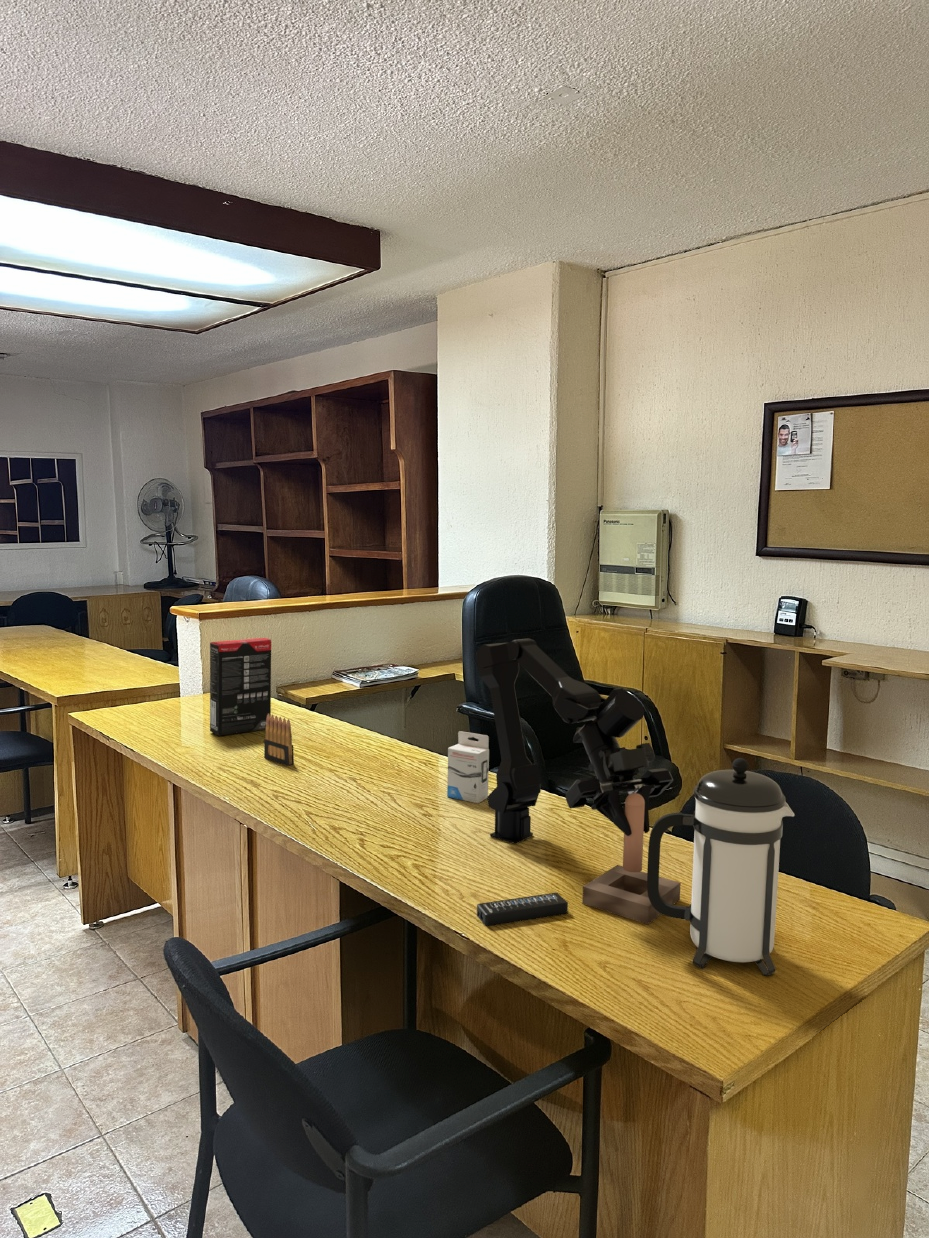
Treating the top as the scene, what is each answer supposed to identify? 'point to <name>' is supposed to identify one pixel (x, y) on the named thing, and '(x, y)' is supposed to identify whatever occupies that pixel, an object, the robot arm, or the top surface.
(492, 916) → the multiport hub
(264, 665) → the graphics card box
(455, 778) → the ink box
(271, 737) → the ammunition clip
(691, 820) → the coffee press
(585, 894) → the brown square frame
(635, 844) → the terracotta dowel
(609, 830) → the top surface
